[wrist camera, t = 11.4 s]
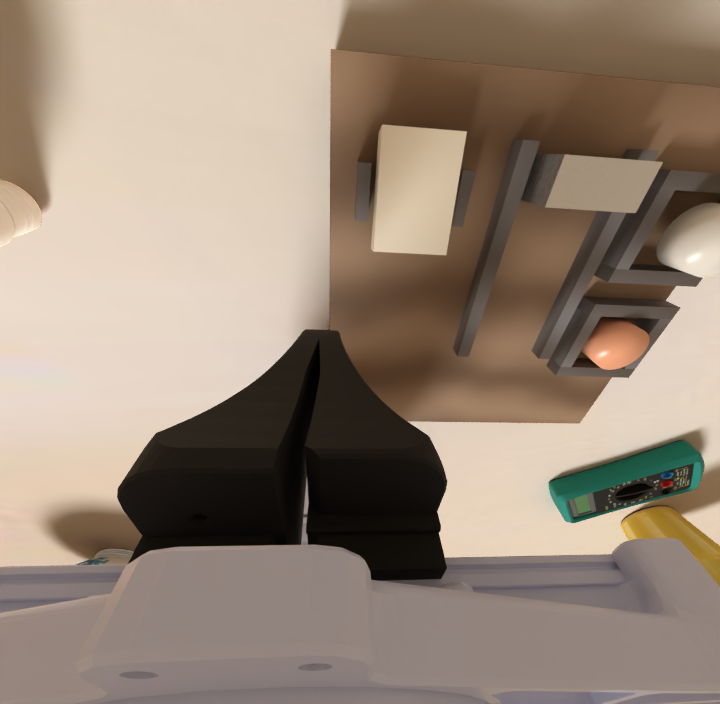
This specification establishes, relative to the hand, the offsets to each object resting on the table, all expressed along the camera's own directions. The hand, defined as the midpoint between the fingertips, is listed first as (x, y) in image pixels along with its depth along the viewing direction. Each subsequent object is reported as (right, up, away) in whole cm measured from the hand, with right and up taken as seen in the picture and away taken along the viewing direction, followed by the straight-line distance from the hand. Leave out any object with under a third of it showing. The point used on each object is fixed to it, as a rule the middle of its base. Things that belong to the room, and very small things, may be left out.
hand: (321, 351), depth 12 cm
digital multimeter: (+32, -14, +24) cm, 42 cm away
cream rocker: (+4, +7, +2) cm, 9 cm away
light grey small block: (+12, +9, +3) cm, 15 cm away
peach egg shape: (+18, +1, +9) cm, 21 cm away
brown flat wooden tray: (+11, +4, +9) cm, 15 cm away
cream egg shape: (+19, +6, +4) cm, 20 cm away
